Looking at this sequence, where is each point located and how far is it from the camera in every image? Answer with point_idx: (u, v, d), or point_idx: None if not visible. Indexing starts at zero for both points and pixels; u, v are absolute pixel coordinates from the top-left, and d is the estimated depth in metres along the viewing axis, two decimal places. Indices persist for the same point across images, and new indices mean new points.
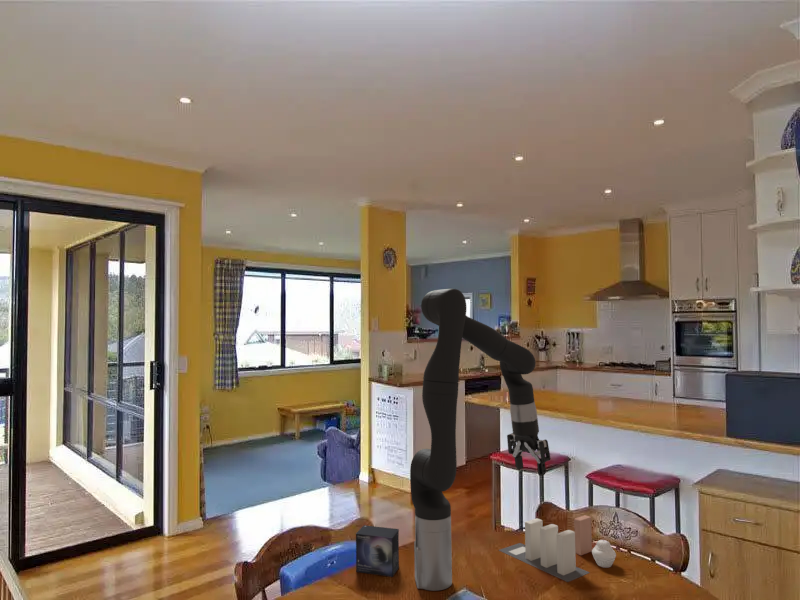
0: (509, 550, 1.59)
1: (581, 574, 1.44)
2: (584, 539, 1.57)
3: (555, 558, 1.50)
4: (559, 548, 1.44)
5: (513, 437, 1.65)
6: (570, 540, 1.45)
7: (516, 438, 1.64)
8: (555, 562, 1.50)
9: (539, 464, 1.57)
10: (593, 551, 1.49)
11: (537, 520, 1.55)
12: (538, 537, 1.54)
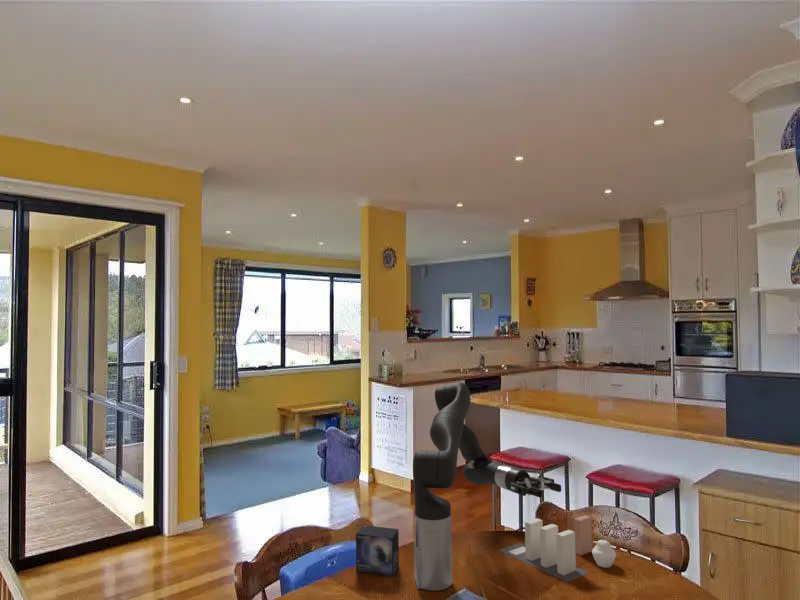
0: (509, 550, 1.59)
1: (581, 574, 1.44)
2: (584, 539, 1.57)
3: (555, 558, 1.50)
4: (559, 548, 1.44)
5: None
6: (570, 540, 1.45)
7: (520, 481, 1.74)
8: (555, 562, 1.50)
9: None
10: (593, 551, 1.49)
11: (537, 520, 1.55)
12: (538, 537, 1.54)
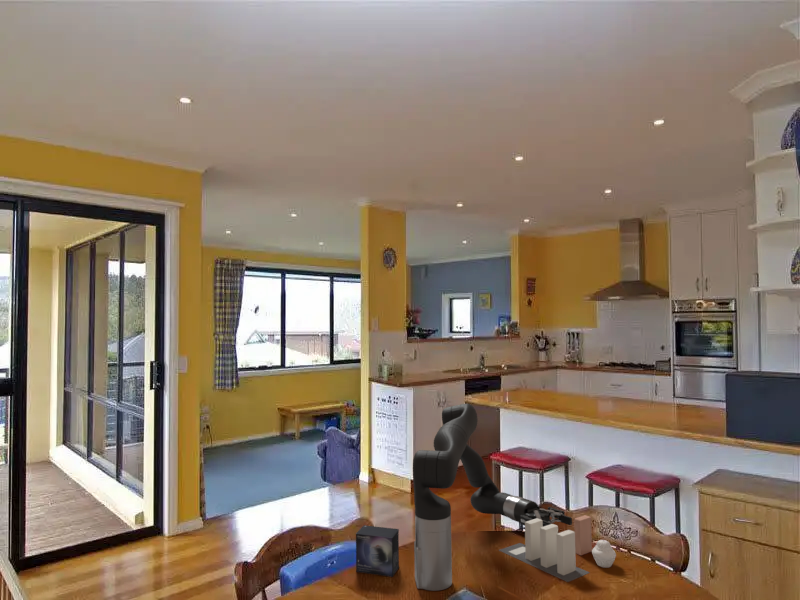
0: (509, 550, 1.59)
1: (581, 574, 1.44)
2: (584, 539, 1.57)
3: (555, 558, 1.50)
4: (559, 548, 1.44)
5: None
6: (570, 540, 1.45)
7: (529, 514, 1.70)
8: (555, 562, 1.50)
9: None
10: (593, 551, 1.49)
11: (537, 520, 1.55)
12: (538, 537, 1.54)
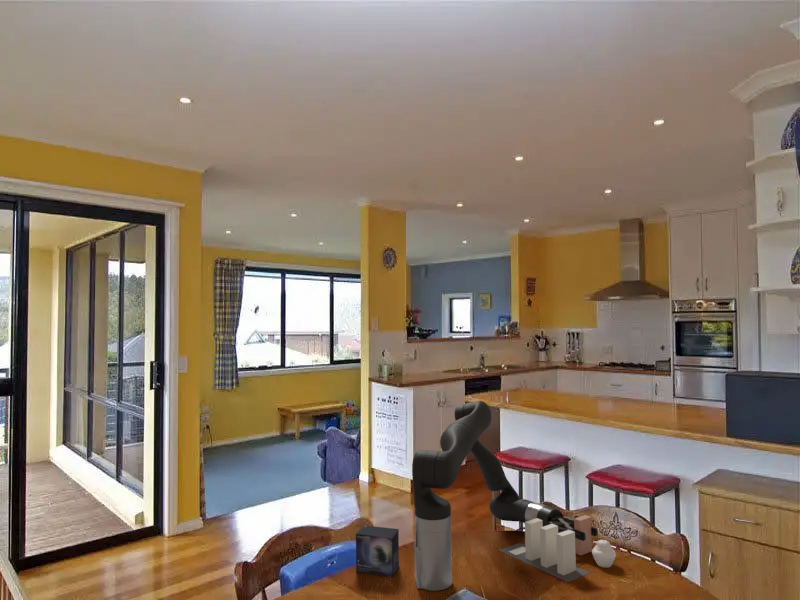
0: (509, 550, 1.59)
1: (581, 574, 1.44)
2: None
3: (555, 558, 1.50)
4: (559, 548, 1.44)
5: None
6: (570, 540, 1.45)
7: (553, 522, 1.63)
8: (555, 562, 1.50)
9: None
10: (593, 551, 1.49)
11: (537, 520, 1.55)
12: (538, 537, 1.54)
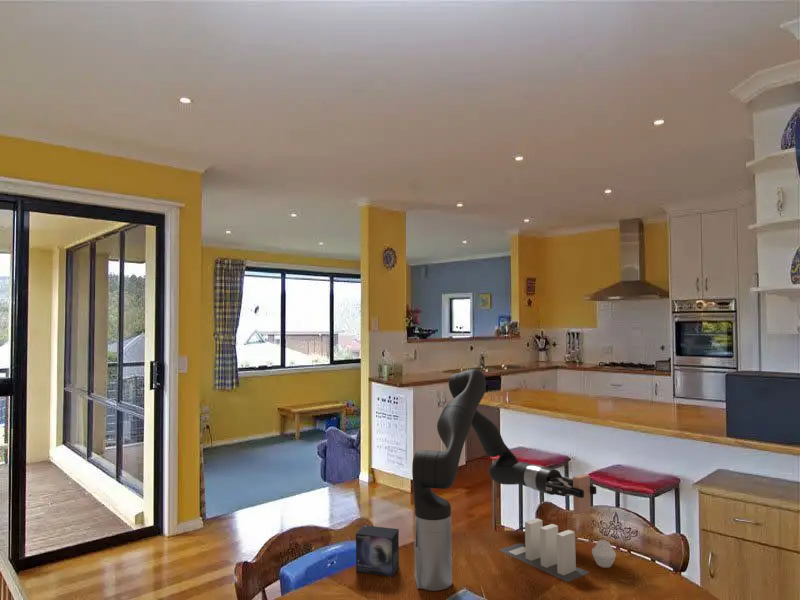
0: (509, 550, 1.59)
1: (581, 574, 1.44)
2: None
3: (555, 558, 1.50)
4: (559, 548, 1.44)
5: None
6: (570, 540, 1.45)
7: (552, 481, 1.63)
8: (555, 562, 1.50)
9: None
10: (593, 551, 1.49)
11: (537, 520, 1.55)
12: (538, 537, 1.54)
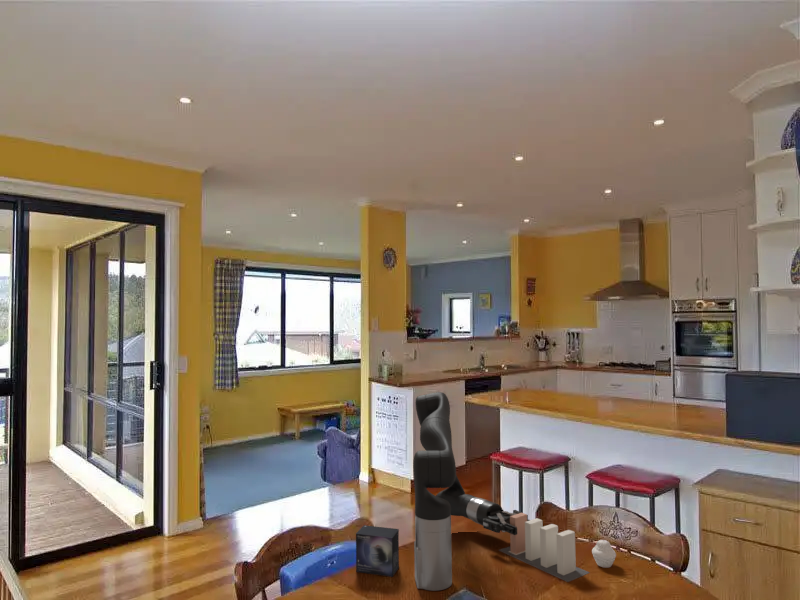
0: (509, 550, 1.59)
1: (581, 574, 1.44)
2: (519, 536, 1.58)
3: (555, 558, 1.50)
4: (559, 548, 1.44)
5: None
6: (570, 540, 1.45)
7: (491, 516, 1.64)
8: (555, 562, 1.50)
9: None
10: (593, 551, 1.49)
11: (537, 520, 1.55)
12: (538, 537, 1.54)
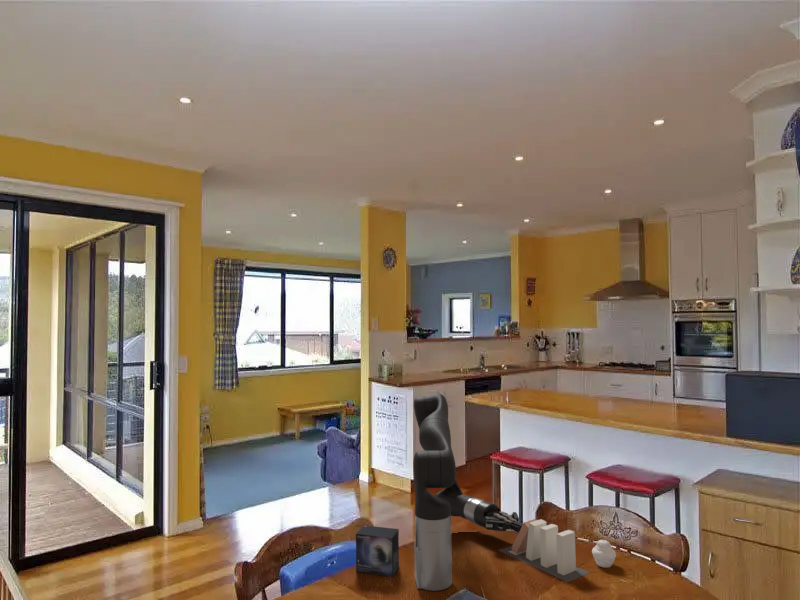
0: (509, 550, 1.59)
1: (581, 574, 1.44)
2: (525, 541, 1.56)
3: (555, 558, 1.50)
4: (559, 548, 1.44)
5: None
6: (570, 540, 1.45)
7: (489, 517, 1.65)
8: (555, 562, 1.50)
9: None
10: (593, 551, 1.49)
11: (541, 522, 1.54)
12: None
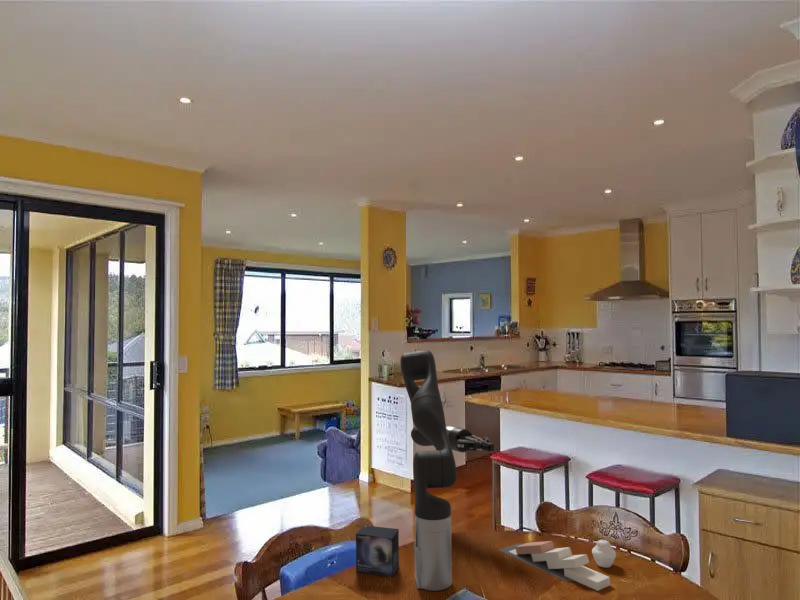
0: (509, 550, 1.59)
1: None
2: None
3: None
4: (585, 580, 1.38)
5: None
6: None
7: (461, 439, 1.76)
8: None
9: None
10: (593, 551, 1.49)
11: (568, 553, 1.46)
12: None
